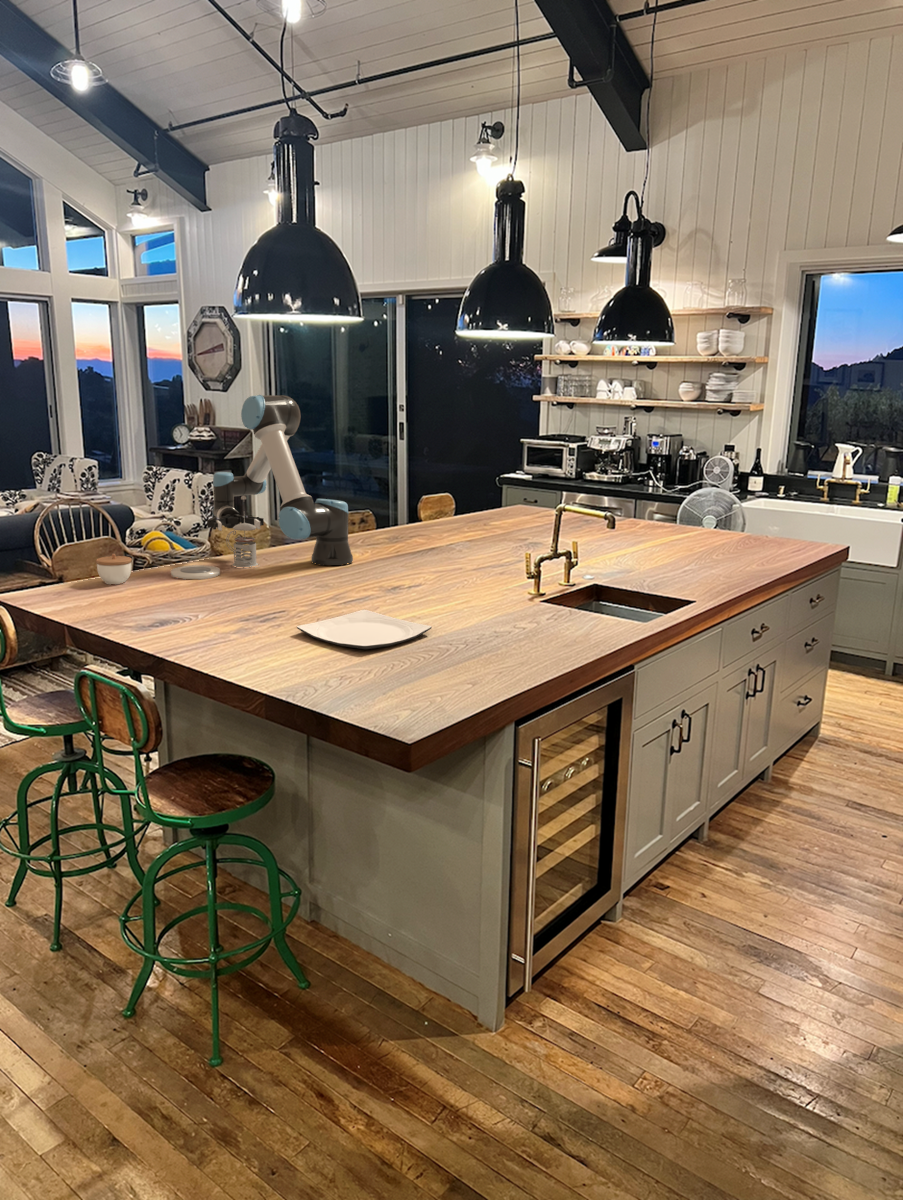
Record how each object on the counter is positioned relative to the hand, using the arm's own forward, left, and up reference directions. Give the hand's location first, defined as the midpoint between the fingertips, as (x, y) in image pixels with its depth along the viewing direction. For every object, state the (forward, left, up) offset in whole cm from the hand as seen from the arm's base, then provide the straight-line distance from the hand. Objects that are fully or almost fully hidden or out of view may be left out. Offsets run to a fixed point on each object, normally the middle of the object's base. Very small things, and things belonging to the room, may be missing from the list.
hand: (240, 526), depth 326 cm
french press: (-1, 0, -14) cm, 14 cm away
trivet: (-1, +21, -14) cm, 26 cm away
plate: (-92, +38, -15) cm, 101 cm away
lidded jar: (+8, +46, -14) cm, 49 cm away
